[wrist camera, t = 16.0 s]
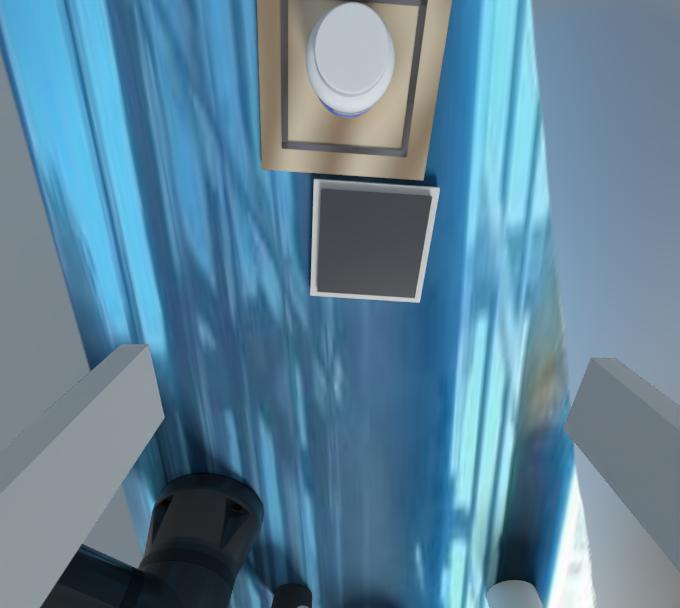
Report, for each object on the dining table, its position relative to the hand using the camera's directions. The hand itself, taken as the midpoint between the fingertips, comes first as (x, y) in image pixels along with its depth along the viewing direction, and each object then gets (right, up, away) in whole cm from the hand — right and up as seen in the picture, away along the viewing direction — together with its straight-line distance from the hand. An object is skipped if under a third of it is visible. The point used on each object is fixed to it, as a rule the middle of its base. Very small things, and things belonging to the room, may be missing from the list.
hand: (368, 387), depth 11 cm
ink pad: (+2, +8, +22) cm, 24 cm away
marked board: (0, +20, +17) cm, 26 cm away
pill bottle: (0, +20, +16) cm, 26 cm away
